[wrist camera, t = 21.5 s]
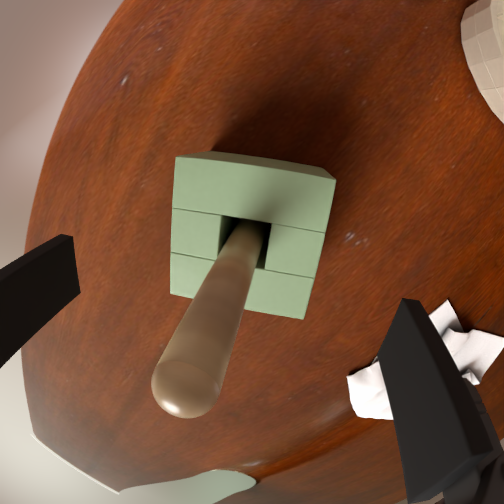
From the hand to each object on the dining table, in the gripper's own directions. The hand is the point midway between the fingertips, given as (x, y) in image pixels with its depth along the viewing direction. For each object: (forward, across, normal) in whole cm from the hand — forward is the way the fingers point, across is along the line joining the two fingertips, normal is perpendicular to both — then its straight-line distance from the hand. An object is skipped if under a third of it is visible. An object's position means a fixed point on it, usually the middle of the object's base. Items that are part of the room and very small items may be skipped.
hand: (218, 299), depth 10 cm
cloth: (+14, +24, -15) cm, 32 cm away
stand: (+14, 0, 0) cm, 14 cm away
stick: (+14, 0, 0) cm, 14 cm away
